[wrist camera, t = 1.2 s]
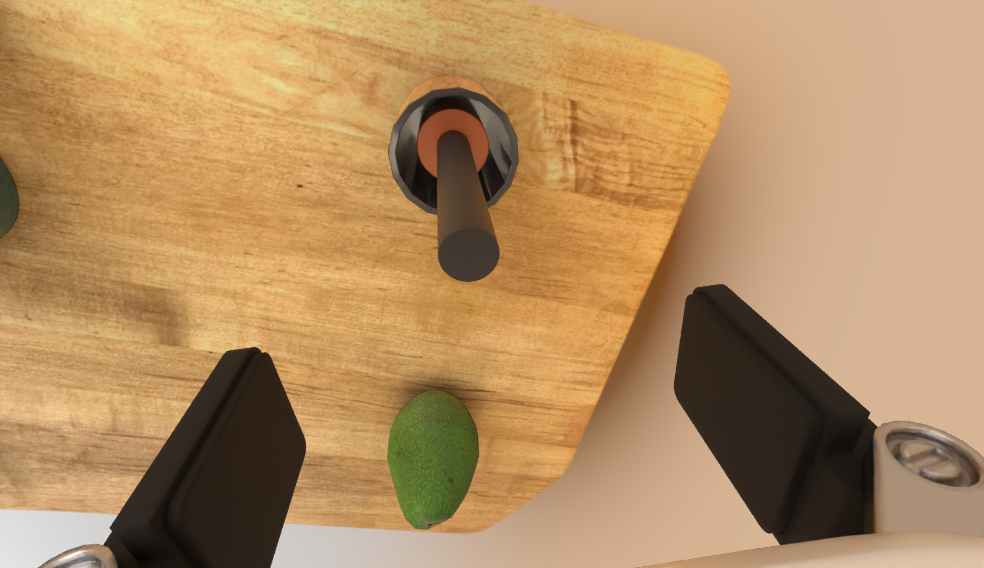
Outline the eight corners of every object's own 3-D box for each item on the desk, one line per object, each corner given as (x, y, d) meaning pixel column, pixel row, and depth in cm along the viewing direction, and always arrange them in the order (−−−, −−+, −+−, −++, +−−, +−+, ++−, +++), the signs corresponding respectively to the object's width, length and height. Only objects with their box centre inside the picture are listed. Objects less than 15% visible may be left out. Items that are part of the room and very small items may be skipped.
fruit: (382, 424, 44) (366, 546, 34) (406, 363, 41) (396, 478, 31) (458, 439, 47) (465, 557, 36) (486, 382, 43) (503, 495, 33)
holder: (388, 81, 30) (376, 96, 24) (498, 69, 30) (513, 80, 24) (408, 188, 33) (402, 224, 27) (506, 176, 34) (521, 210, 27)
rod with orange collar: (413, 102, 30) (387, 199, 13) (479, 95, 30) (533, 181, 14) (424, 168, 32) (413, 320, 16) (486, 161, 32) (538, 303, 16)
